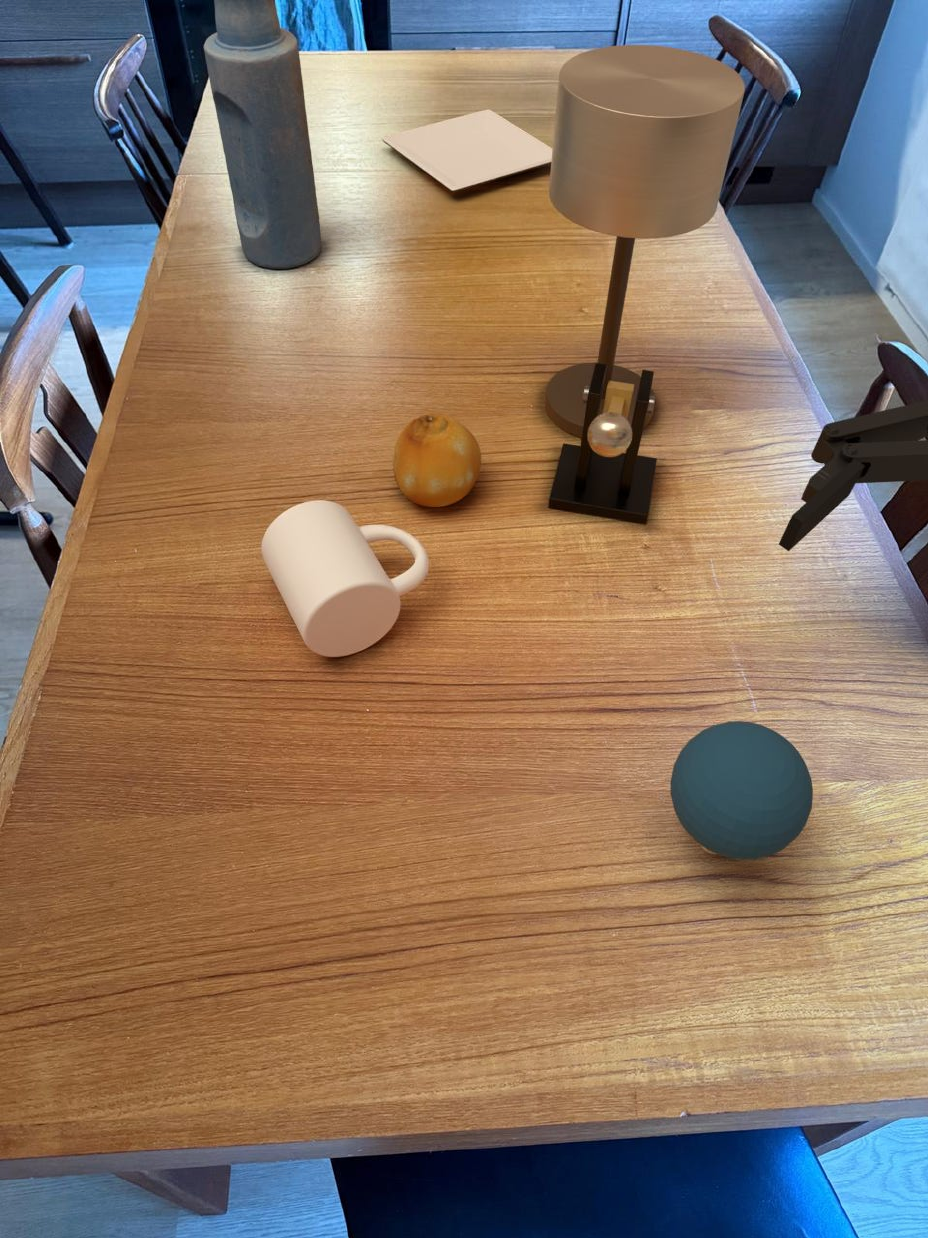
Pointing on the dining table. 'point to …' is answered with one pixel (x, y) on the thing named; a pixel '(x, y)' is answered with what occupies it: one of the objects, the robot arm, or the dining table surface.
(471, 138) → the plate
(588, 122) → the lamp
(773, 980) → the dining table surface
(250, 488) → the dining table surface
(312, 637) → the mug
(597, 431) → the lamp switch
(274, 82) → the bottle
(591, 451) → the switch bracket
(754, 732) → the dark teal ovoid
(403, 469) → the fruit
